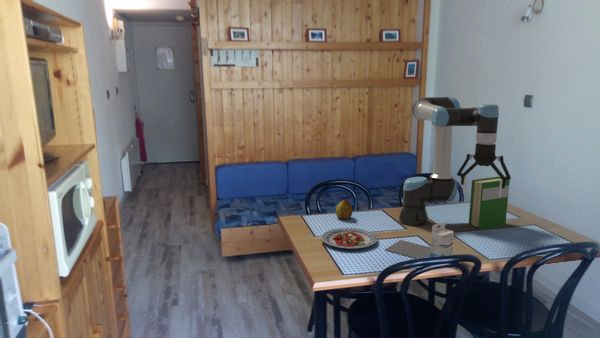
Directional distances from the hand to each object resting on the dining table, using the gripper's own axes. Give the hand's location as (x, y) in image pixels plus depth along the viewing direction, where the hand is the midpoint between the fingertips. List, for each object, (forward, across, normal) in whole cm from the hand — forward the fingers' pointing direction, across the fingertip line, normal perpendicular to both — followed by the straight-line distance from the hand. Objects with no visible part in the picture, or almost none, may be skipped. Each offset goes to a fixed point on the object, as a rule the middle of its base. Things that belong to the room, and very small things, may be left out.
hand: (481, 194), depth 181 cm
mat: (+27, -26, -4) cm, 38 cm away
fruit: (+27, -69, +27) cm, 79 cm away
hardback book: (+27, +2, +45) cm, 53 cm away
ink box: (+28, -14, -8) cm, 32 cm away
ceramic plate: (+28, -55, -5) cm, 62 cm away
